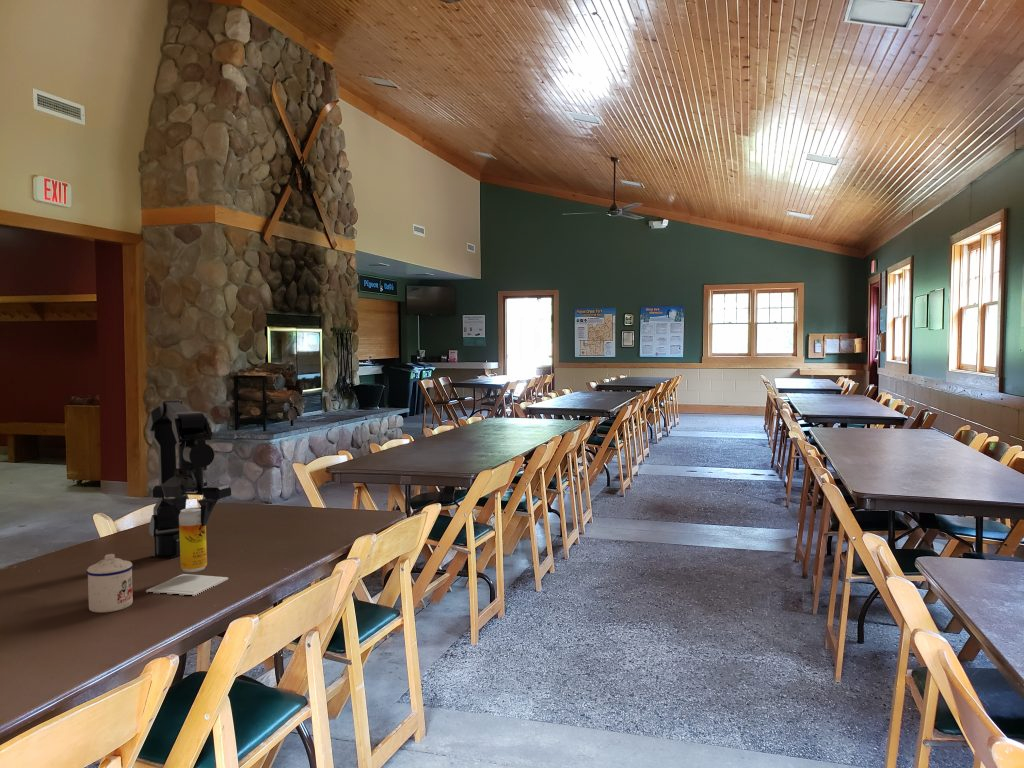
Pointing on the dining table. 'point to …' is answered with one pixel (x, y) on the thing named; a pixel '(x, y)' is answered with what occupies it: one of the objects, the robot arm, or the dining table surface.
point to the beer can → (192, 540)
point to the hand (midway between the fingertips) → (192, 525)
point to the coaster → (187, 584)
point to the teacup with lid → (110, 584)
